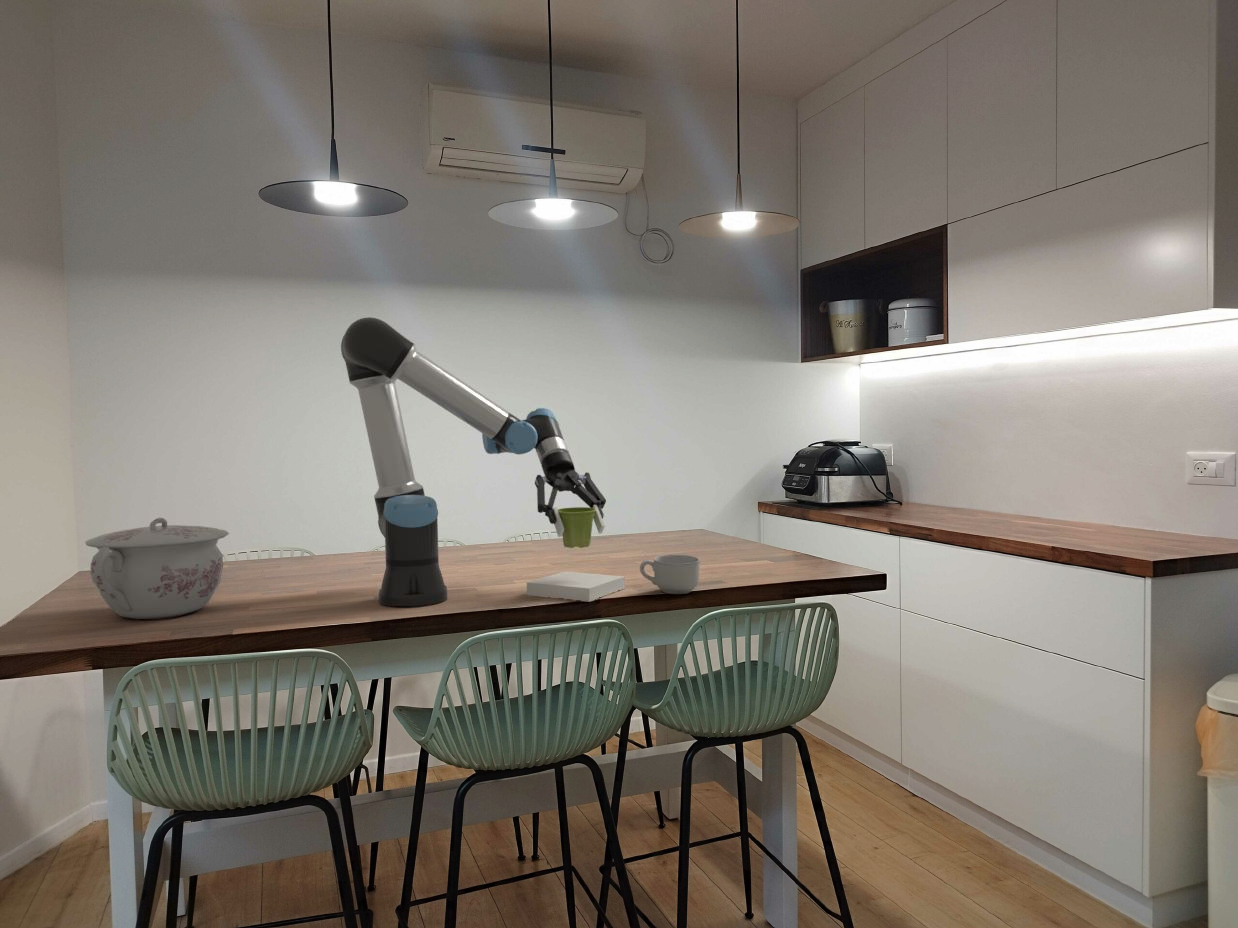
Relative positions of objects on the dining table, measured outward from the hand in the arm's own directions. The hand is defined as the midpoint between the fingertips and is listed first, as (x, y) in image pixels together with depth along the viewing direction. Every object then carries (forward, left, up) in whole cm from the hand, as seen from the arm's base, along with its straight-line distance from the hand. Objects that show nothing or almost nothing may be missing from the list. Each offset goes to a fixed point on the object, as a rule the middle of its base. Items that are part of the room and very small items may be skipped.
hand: (581, 531), depth 200 cm
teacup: (+17, +11, -15) cm, 25 cm away
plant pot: (-3, +2, -4) cm, 5 cm away
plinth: (-3, +1, -15) cm, 15 cm away
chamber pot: (-72, -57, -15) cm, 93 cm away
